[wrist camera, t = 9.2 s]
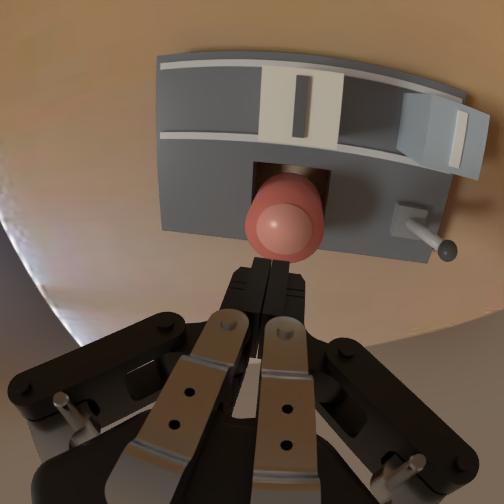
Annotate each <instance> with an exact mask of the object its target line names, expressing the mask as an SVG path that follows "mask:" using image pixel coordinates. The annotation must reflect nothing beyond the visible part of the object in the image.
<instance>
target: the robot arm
mask: <svg viewBox="0 0 504 504" xmlns="http://www.w3.org/2000/svg"><path fill="white" fill-rule="evenodd" d="M271 262H272V266H271ZM289 263H290V261H283V260H275V259H273V261H272V259H267V258H259V257H254V261H253V264H252V267H251V268H247V267H240V268H239V269H238V270H236V271H235V272H234V273H233V275H232V278H231V281H230V283H229V286H228V289H227V291H226V294H225V296H224V299H223V302H222V304H221V307H220V310H218V311H216V312H214V313H213V314H212V315H211V316H210V318H209V319H208V321H205V322H201V323H187V324H185V320H184V319H183V317H181V316H180V315H179V314H176V313H173V312H161V313H158V314H155V315H153V316H151V317H148V318H146V319H144V320H142V321H139V322H137V323H135V324H133V325H130V326H128V327H126V328H124V329H121V330H119V331H117V332H115V333H112V334H110V335H108V336H105V337H103V338H101V339H99V340H96V341H94V342H92V343H89V344H87V345H85V346H83V347H80V348H78V349H76V350H73V351H71V352H69V353H67V354H64V355H62V356H59V357H57V358H55V359H52V360H50V361H48V362H45V363H43V364H41V365H38V366H36V367H33V368H31V369H29V370H26V371H24V372H22V373H19V374H17V375H16V376H15V377H14V378H13V379H12V380H11V381H10V384H9V386H8V397H9V399H10V401H11V402H12V403H13V404H14V406H15V407H16V408H17V409H18V410H19V411H20V413H21V415H22V416H23V417H24V418H25V419H26V420H27V423H28V426H29V429H30V432H31V435H32V438H33V441H34V444H35V446H36V449H37V452H38V454H39V457H40V459H41V462H42V464H41V465H40V467H39V468H38V469H37V471H36V472H35V474H34V476H33V479H32V483H31V497H32V504H439V503H440V502H441V501H442V500H443V498H444V497H445V496H447V495H449V494H451V493H452V492H454V491H456V490H458V489H459V488H461V487H462V486H464V485H466V484H468V483H469V482H471V481H472V480H473V479H474V478H475V476H476V475H477V473H478V469H479V459H478V456H477V454H476V452H475V451H474V450H473V449H472V448H471V447H470V446H469V445H468V444H467V443H466V442H465V441H464V440H463V439H462V438H461V437H460V436H459V435H457V434H456V433H455V432H454V431H453V430H452V429H451V428H450V427H449V426H448V425H447V424H446V423H445V422H444V421H443V420H442V419H440V418H439V417H438V416H437V415H436V414H435V413H434V412H433V411H432V410H431V409H430V408H429V407H427V405H425V404H424V403H423V402H422V401H421V400H420V399H419V398H418V397H417V396H416V395H415V394H414V393H412V391H411V390H409V389H408V388H407V387H406V386H405V385H404V384H403V383H402V382H401V381H400V380H399V379H398V378H396V377H395V376H394V375H393V374H392V373H391V372H390V371H389V370H388V369H387V368H386V367H385V366H383V364H381V363H380V362H379V361H378V360H377V359H376V358H375V357H374V356H373V355H372V354H371V353H370V352H369V351H367V350H366V349H365V348H364V347H363V346H362V345H361V344H360V343H359V342H357V341H355V340H353V339H350V338H336V339H334V340H332V341H331V342H329V344H328V343H326V342H323V341H320V340H318V339H316V338H314V337H312V336H311V335H310V334H309V333H308V332H307V330H306V329H305V326H304V310H305V281H304V279H303V278H302V276H301V274H293V273H289ZM258 344H259V348H258ZM257 349H258V357H257V358H258V359H261V367H260V375H259V385H258V396H257V407H256V417H255V418H245V419H237V418H233V417H232V413H233V409H234V406H235V404H236V400H237V398H238V395H239V392H240V388H241V386H242V383H243V380H244V377H245V373H246V368H247V366H248V363H249V358H250V357H251V358H256V354H257ZM152 360H154V361H152ZM150 361H152V362H150ZM148 362H150V363H148ZM146 363H148V364H146ZM144 364H146V365H144ZM142 365H144V366H142ZM140 366H142V367H140ZM138 367H140V368H138ZM136 368H138V369H136ZM134 369H136V370H134ZM132 370H134V371H132ZM130 371H132V372H130ZM128 372H130V373H128ZM127 373H128V374H127ZM155 401H156V402H155ZM153 402H155V404H154V406H153V408H152V409H149V410H146V411H144V412H141V413H139V414H137V415H136V416H134V417H132V418H130V419H128V420H126V421H124V422H123V423H121V424H119V425H117V426H115V427H113V428H111V429H110V430H108V431H106V432H104V433H102V434H100V432H101V428H103V427H105V426H107V425H109V424H111V423H114V422H116V421H117V420H120V419H122V418H124V417H126V416H128V415H129V414H132V413H133V412H135V411H137V410H139V409H141V408H143V407H145V406H147V405H149V404H151V403H153ZM315 409H316V410H317V411H318V412H319V414H320V415H321V416H322V417H323V418H324V419H325V421H326V422H327V423H328V424H329V425H330V426H331V428H332V429H333V430H334V431H335V432H336V433H337V435H338V436H339V437H340V438H341V439H342V440H343V441H344V443H346V445H347V446H348V447H349V448H350V449H351V450H352V452H353V453H354V454H355V455H356V456H357V457H358V458H359V459H360V460H361V462H362V463H363V464H364V465H365V466H366V467H367V468H368V469H369V470H370V471H371V472H372V473H373V475H372V477H371V480H370V488H371V491H372V493H373V494H374V496H375V497H376V498H375V497H374V496H373V495H372V494H371V492H370V491H369V490H368V489H367V487H366V486H365V485H364V484H363V483H362V482H361V480H360V479H359V478H358V477H357V475H356V474H355V473H354V472H353V471H352V469H351V468H350V467H349V466H348V464H347V463H346V462H345V461H344V459H343V458H342V457H341V456H340V454H339V453H338V452H337V451H336V449H335V448H334V447H333V446H332V445H331V444H330V443H329V442H328V441H326V440H325V439H324V438H322V437H320V436H319V435H317V434H316V417H315Z"/></svg>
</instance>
